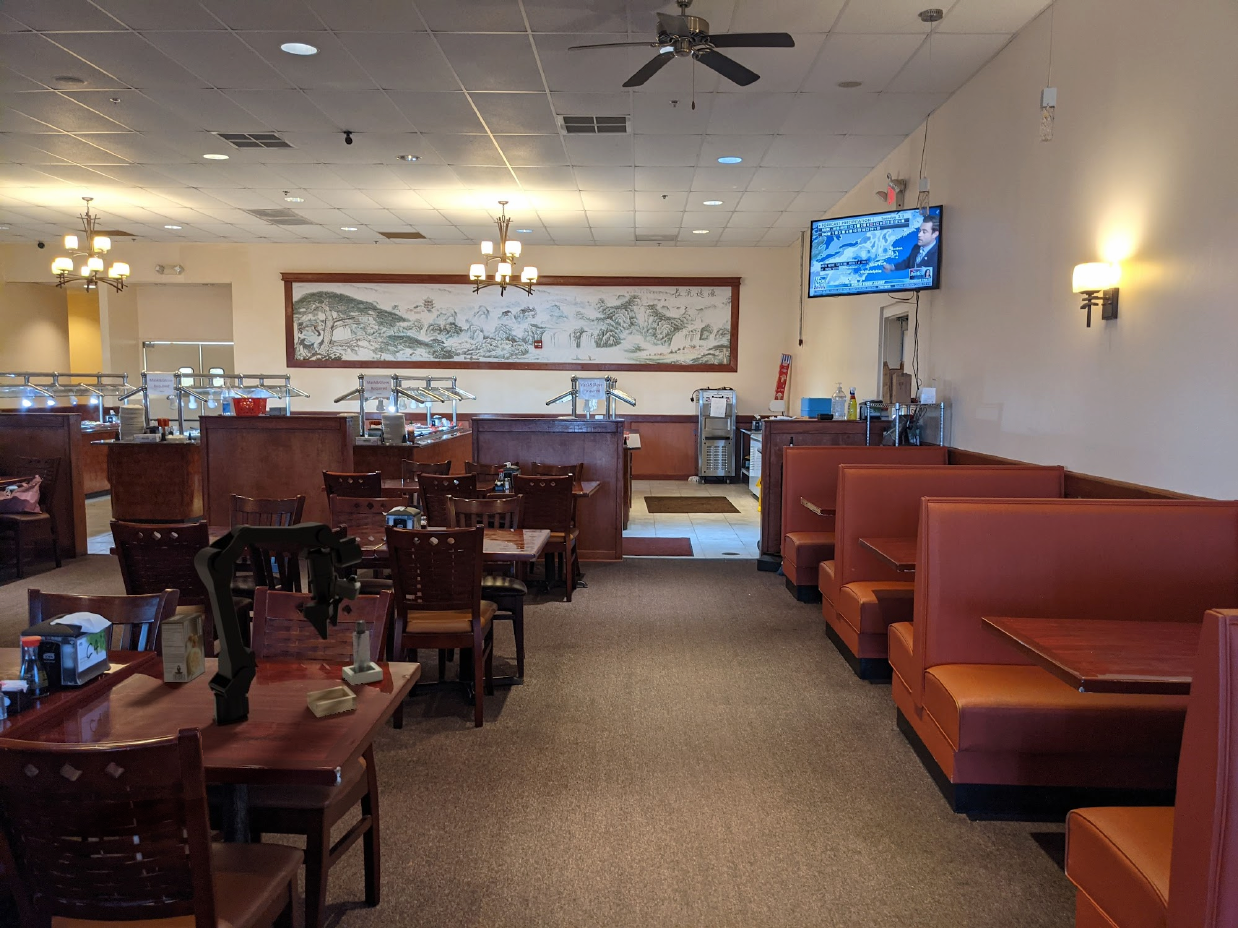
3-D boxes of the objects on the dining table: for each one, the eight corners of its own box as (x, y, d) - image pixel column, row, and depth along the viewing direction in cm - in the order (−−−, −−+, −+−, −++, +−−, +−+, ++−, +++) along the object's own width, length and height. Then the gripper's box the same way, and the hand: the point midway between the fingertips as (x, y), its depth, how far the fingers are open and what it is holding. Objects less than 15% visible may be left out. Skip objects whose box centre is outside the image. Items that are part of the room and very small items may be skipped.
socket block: (351, 685, 214) (351, 675, 214) (342, 676, 221) (342, 667, 220) (382, 679, 218) (382, 669, 218) (373, 670, 225) (372, 661, 225)
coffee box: (182, 671, 227) (179, 612, 225) (206, 671, 226) (202, 612, 225) (163, 683, 217) (159, 621, 216) (188, 683, 217) (184, 621, 216)
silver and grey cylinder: (357, 681, 217) (354, 624, 215) (352, 677, 220) (350, 620, 219) (372, 678, 219) (370, 621, 218) (368, 674, 222) (365, 618, 221)
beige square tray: (317, 717, 193) (316, 704, 193) (307, 705, 201) (307, 692, 201) (356, 708, 198) (356, 696, 198) (346, 697, 206) (345, 685, 206)
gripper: (345, 580, 200) (354, 643, 203) (363, 559, 218) (371, 616, 221) (297, 585, 199) (306, 648, 202) (319, 563, 218) (327, 621, 220)
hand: (330, 632), depth 211 cm, fingers open, 9 cm apart
